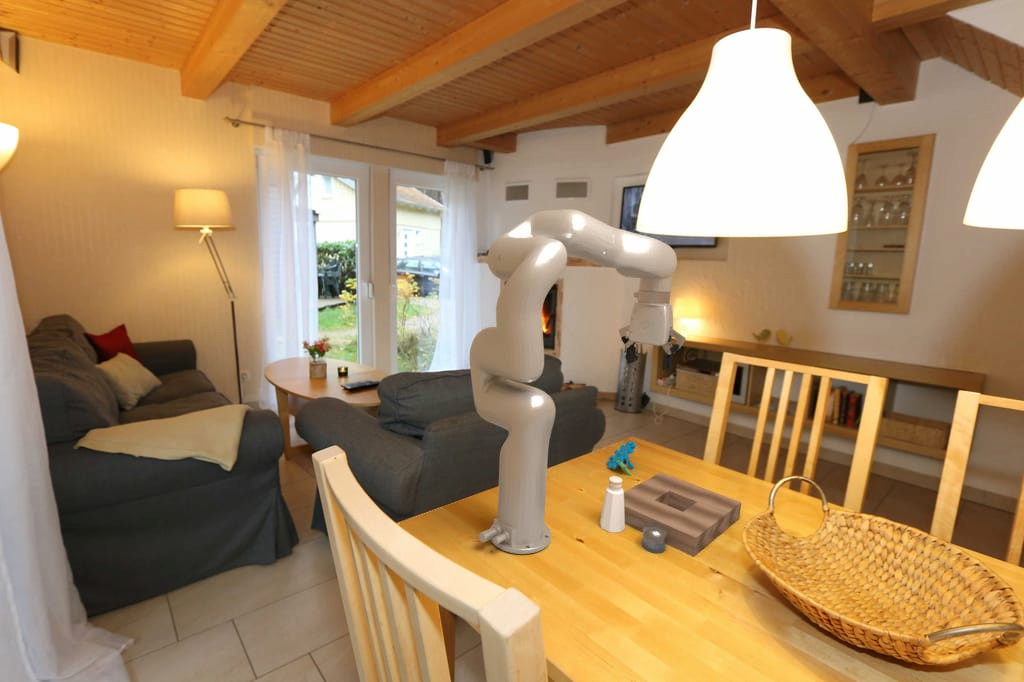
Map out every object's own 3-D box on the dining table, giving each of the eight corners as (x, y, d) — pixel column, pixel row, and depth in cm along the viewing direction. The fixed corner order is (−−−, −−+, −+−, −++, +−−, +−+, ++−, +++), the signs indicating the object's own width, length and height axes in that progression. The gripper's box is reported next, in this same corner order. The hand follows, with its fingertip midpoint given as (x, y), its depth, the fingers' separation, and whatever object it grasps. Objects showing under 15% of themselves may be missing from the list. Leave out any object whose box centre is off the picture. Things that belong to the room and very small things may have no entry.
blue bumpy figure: (607, 452, 144) (634, 433, 140) (620, 467, 144) (648, 449, 140) (602, 473, 134) (631, 453, 130) (617, 489, 134) (647, 470, 130)
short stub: (658, 556, 97) (659, 537, 97) (637, 546, 101) (639, 528, 100) (669, 547, 100) (671, 529, 100) (649, 538, 104) (651, 520, 103)
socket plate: (693, 556, 98) (695, 537, 97) (608, 516, 112) (609, 499, 111) (739, 518, 113) (741, 502, 112) (659, 487, 127) (660, 472, 126)
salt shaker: (630, 530, 106) (634, 482, 104) (608, 535, 104) (611, 485, 102) (615, 518, 111) (619, 471, 109) (594, 522, 109) (598, 474, 107)
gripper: (615, 296, 126) (610, 362, 129) (682, 302, 115) (675, 374, 118) (629, 295, 132) (624, 358, 135) (694, 300, 121) (687, 369, 124)
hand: (648, 366), depth 127 cm, fingers open, 9 cm apart
